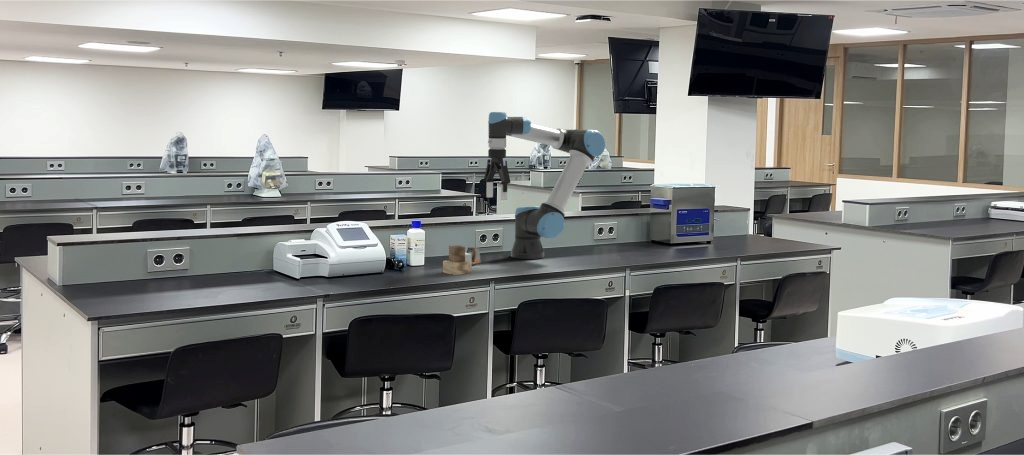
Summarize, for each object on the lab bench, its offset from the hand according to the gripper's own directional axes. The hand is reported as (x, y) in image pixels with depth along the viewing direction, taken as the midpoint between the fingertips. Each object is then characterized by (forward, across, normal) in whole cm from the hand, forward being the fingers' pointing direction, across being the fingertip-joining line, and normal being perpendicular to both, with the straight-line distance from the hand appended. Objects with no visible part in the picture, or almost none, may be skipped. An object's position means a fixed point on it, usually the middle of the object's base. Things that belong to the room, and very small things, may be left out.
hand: (496, 198), depth 397 cm
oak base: (+29, +11, -23) cm, 39 cm away
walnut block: (+24, +11, -23) cm, 35 cm away
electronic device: (+29, -6, -8) cm, 31 cm away
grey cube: (+29, 0, -16) cm, 33 cm away
